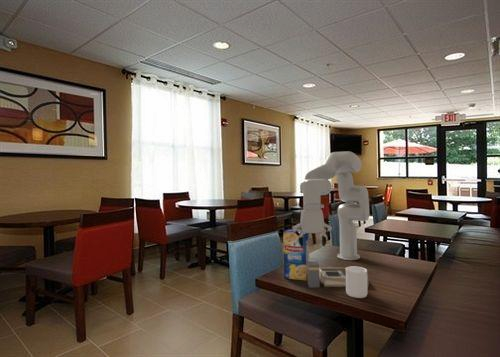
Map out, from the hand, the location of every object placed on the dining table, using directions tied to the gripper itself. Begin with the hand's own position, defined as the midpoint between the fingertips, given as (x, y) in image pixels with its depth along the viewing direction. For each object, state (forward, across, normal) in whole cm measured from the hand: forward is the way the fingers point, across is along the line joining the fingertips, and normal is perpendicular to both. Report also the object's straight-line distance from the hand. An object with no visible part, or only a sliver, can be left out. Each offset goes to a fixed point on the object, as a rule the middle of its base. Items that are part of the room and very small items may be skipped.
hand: (312, 245), depth 130 cm
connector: (+18, 0, 0) cm, 18 cm away
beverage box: (+18, +6, -11) cm, 22 cm away
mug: (+18, -16, +8) cm, 26 cm away
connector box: (+18, -14, -5) cm, 23 cm away
